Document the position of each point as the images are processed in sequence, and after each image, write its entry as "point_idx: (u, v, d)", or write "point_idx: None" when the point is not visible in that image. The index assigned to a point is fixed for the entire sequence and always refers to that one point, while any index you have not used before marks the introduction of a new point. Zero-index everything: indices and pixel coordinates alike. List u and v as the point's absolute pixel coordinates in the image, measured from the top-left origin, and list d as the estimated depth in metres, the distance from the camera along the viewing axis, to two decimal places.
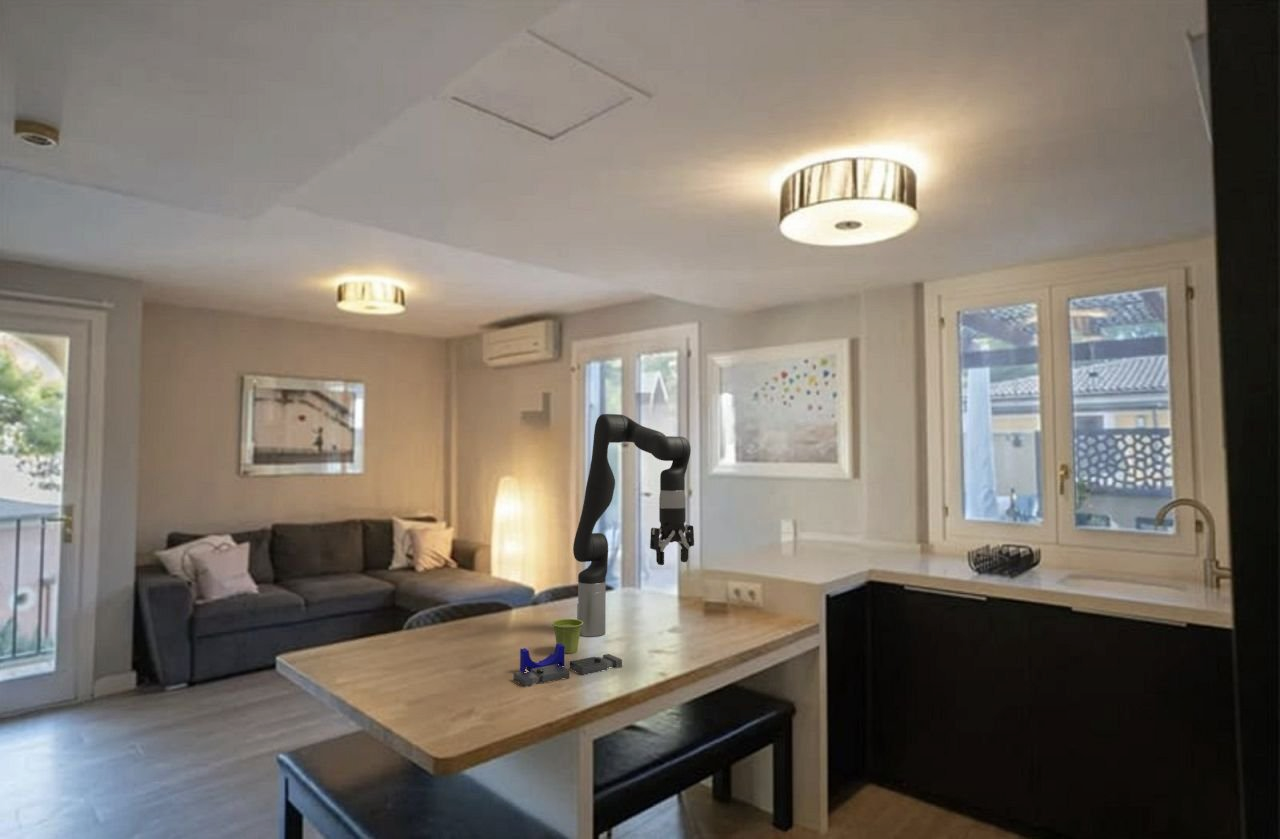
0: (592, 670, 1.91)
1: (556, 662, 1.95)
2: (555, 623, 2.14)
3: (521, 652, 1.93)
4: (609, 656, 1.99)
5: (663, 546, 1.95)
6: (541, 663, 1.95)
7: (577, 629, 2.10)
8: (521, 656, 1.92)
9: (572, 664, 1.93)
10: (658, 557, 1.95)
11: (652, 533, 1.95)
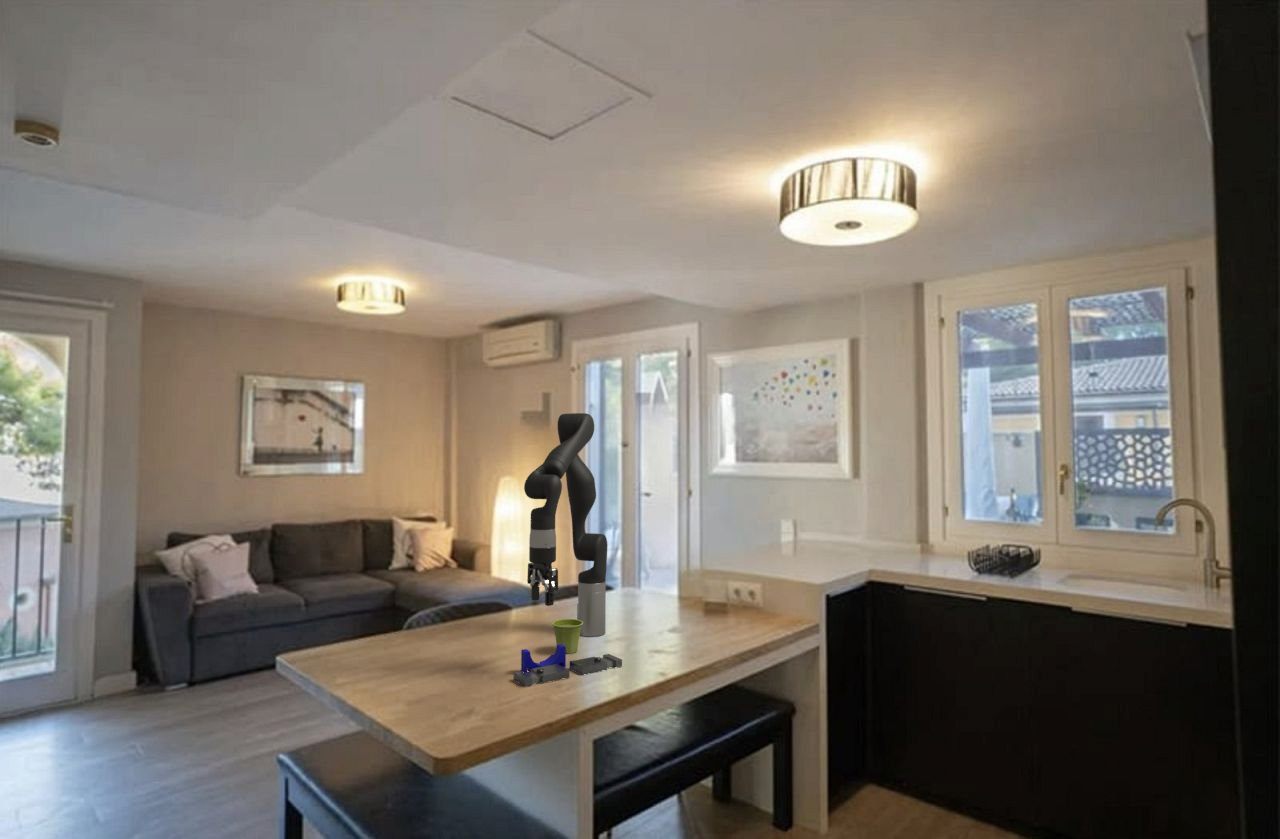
0: (592, 670, 1.91)
1: (557, 663, 1.95)
2: (555, 623, 2.14)
3: (522, 653, 1.92)
4: (609, 656, 1.99)
5: None
6: (542, 664, 1.94)
7: (577, 629, 2.10)
8: (523, 657, 1.91)
9: (572, 664, 1.93)
10: (552, 598, 1.92)
11: (552, 574, 1.91)
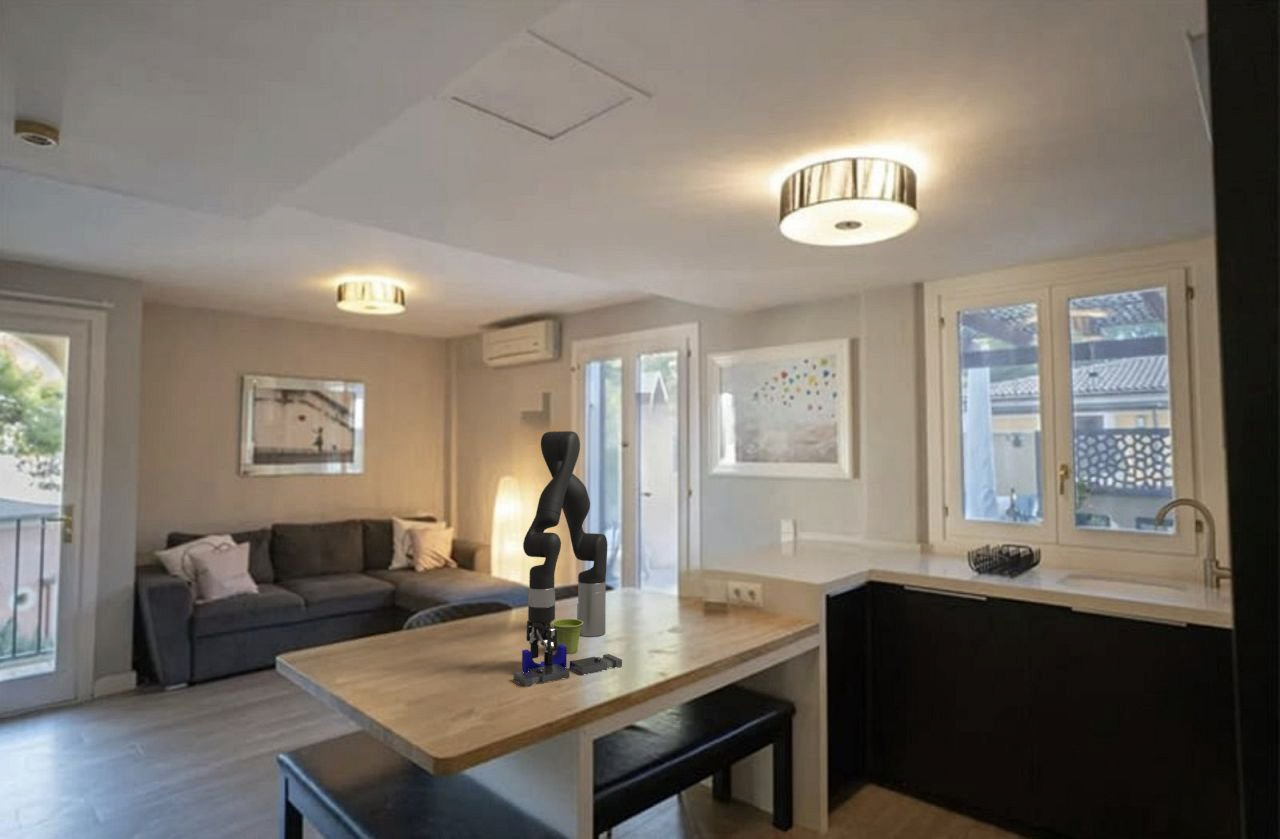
0: (592, 670, 1.91)
1: (558, 663, 1.94)
2: (555, 623, 2.14)
3: (523, 653, 1.91)
4: (609, 656, 1.99)
5: None
6: (543, 664, 1.94)
7: (577, 629, 2.10)
8: (523, 657, 1.91)
9: (572, 664, 1.93)
10: (550, 658, 1.92)
11: (551, 635, 1.90)
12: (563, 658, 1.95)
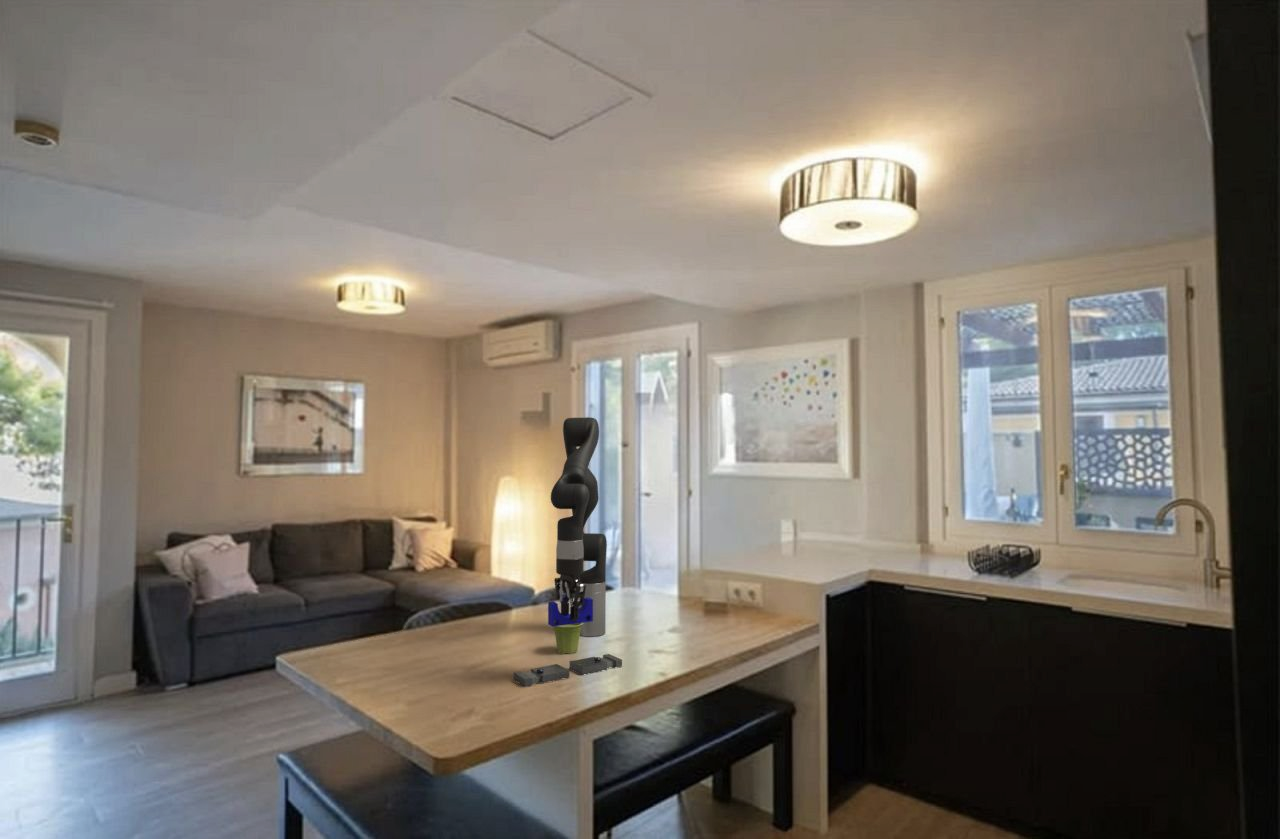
0: (592, 670, 1.91)
1: (584, 615, 1.91)
2: None
3: (549, 605, 1.88)
4: (609, 656, 1.99)
5: None
6: (569, 616, 1.91)
7: (577, 629, 2.10)
8: (550, 609, 1.88)
9: (572, 664, 1.93)
10: (577, 612, 1.89)
11: (580, 591, 1.86)
12: (589, 610, 1.92)
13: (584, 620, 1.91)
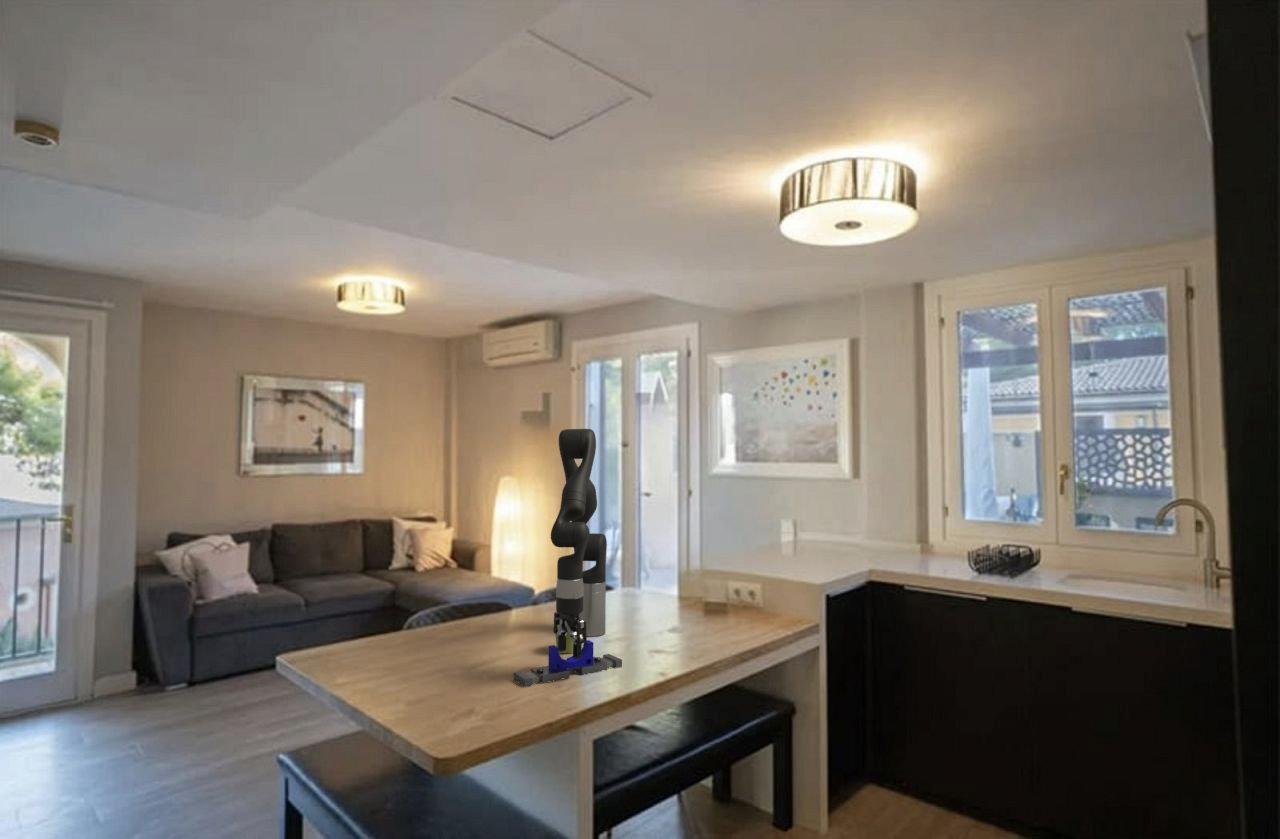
0: (592, 670, 1.91)
1: (585, 659, 1.91)
2: None
3: (550, 649, 1.88)
4: (609, 656, 1.99)
5: None
6: (570, 660, 1.90)
7: None
8: (550, 653, 1.87)
9: None
10: (580, 650, 1.87)
11: (581, 626, 1.85)
12: (590, 654, 1.91)
13: (584, 664, 1.90)
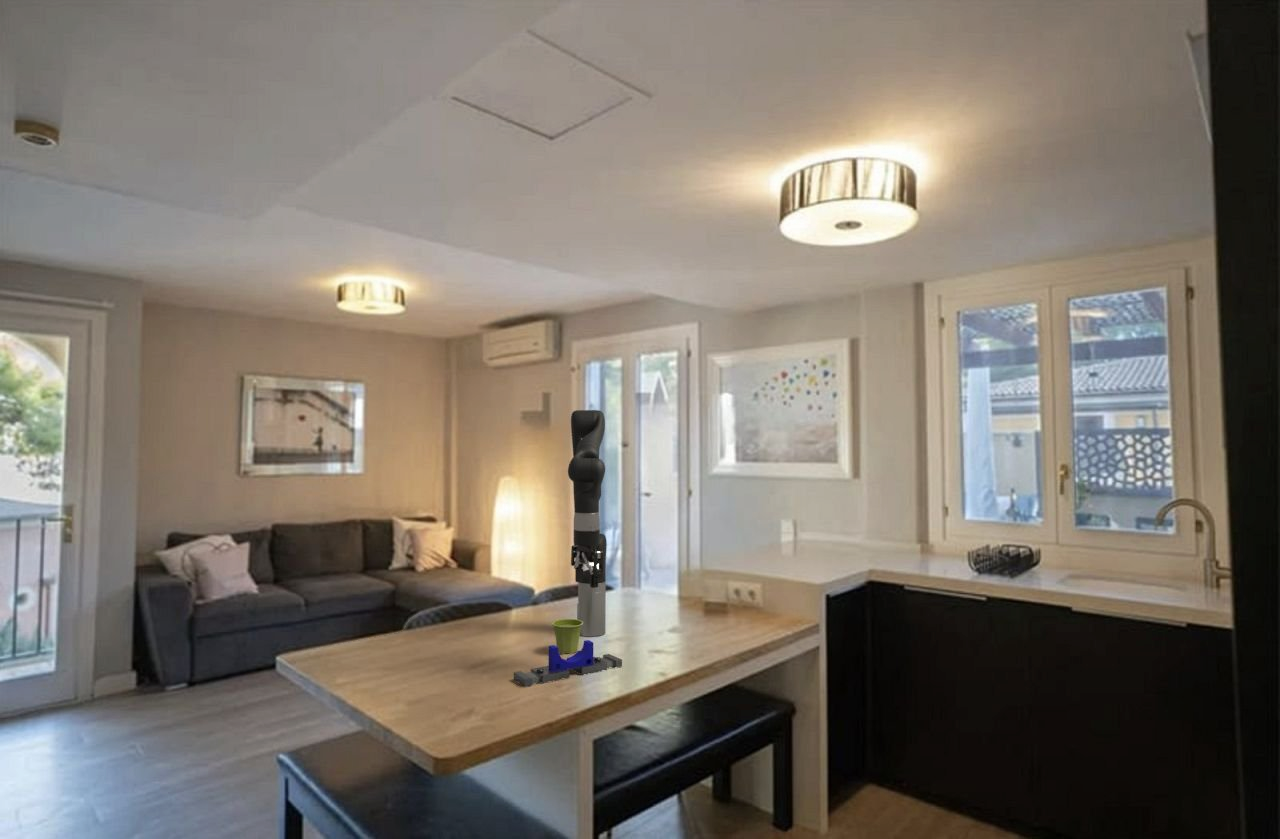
0: (592, 670, 1.91)
1: (585, 659, 1.91)
2: (555, 623, 2.14)
3: (550, 649, 1.88)
4: (609, 656, 1.99)
5: None
6: (570, 660, 1.90)
7: (577, 629, 2.10)
8: (550, 653, 1.87)
9: None
10: (596, 580, 1.95)
11: (597, 557, 1.93)
12: (590, 654, 1.91)
13: (584, 664, 1.90)
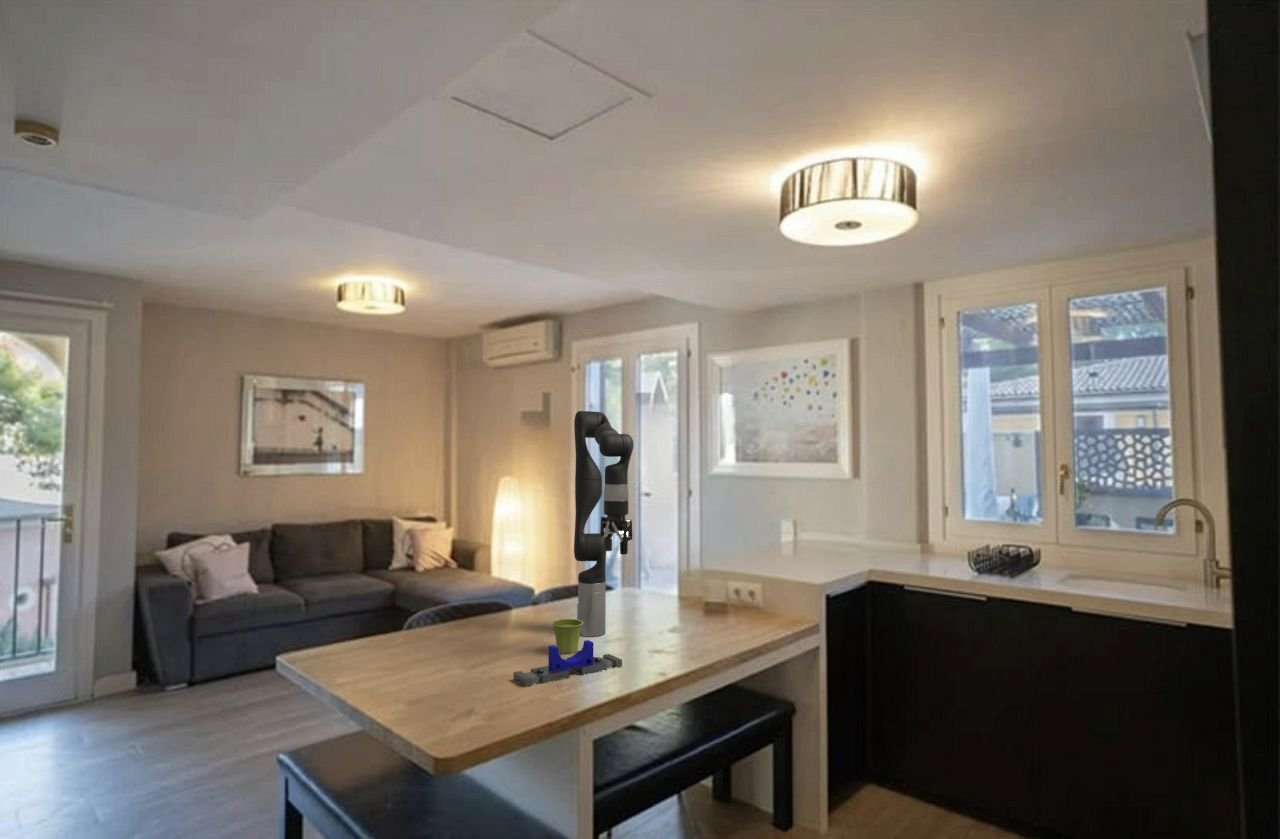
0: (592, 670, 1.91)
1: (585, 659, 1.91)
2: (555, 623, 2.14)
3: (550, 649, 1.88)
4: (609, 656, 1.99)
5: None
6: (570, 660, 1.90)
7: (577, 629, 2.10)
8: (550, 653, 1.87)
9: None
10: (626, 547, 2.07)
11: (627, 525, 2.06)
12: (590, 654, 1.91)
13: (584, 664, 1.90)
